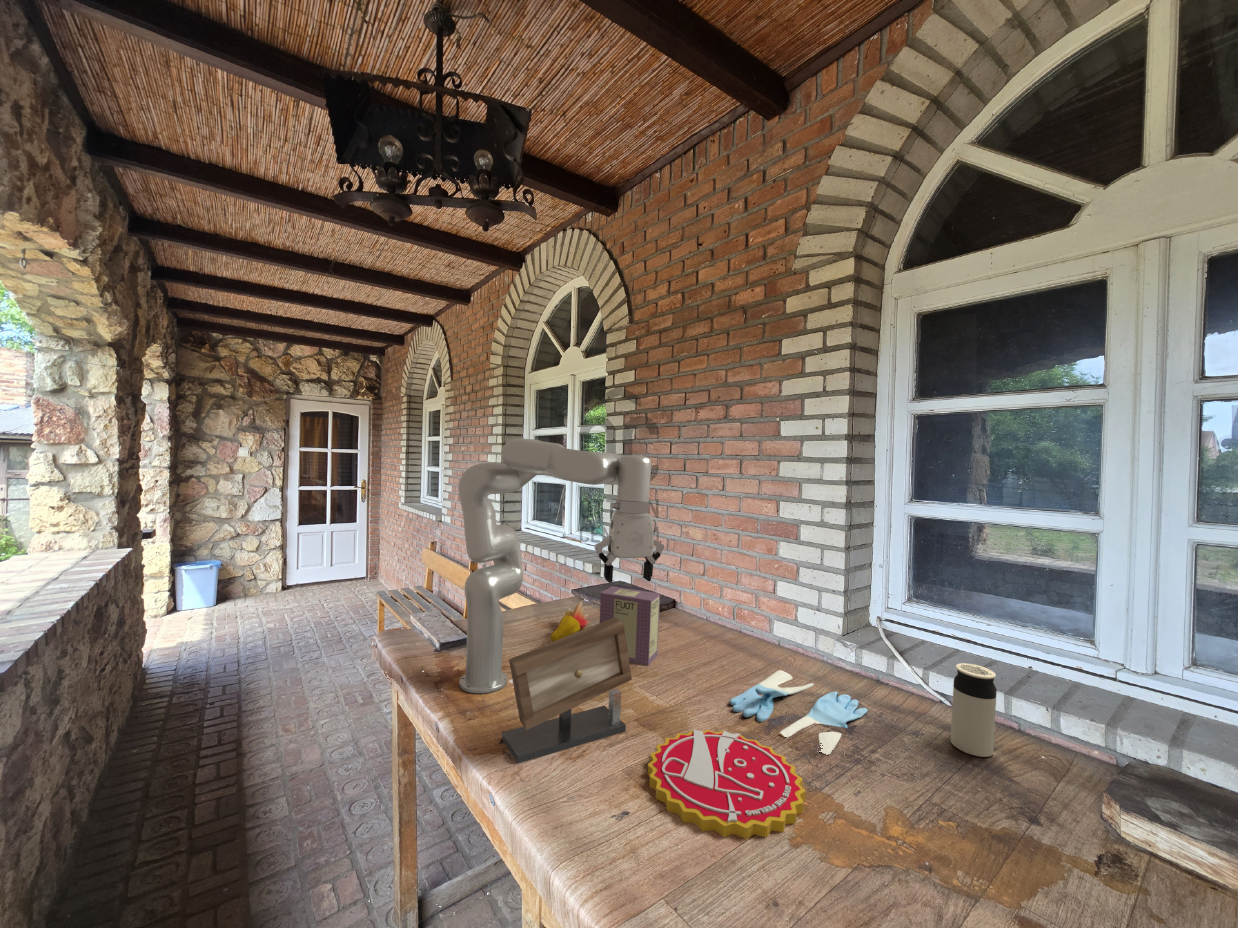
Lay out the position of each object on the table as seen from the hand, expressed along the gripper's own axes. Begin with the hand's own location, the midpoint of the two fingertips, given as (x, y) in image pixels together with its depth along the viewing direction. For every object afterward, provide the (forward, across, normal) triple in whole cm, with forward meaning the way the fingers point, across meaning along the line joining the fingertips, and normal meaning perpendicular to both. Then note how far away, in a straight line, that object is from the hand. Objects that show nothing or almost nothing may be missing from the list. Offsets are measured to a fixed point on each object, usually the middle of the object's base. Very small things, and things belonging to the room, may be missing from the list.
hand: (628, 580), depth 118 cm
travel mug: (+33, +74, -32) cm, 87 cm away
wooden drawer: (+25, -12, -4) cm, 28 cm away
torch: (+36, +2, +59) cm, 69 cm away
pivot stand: (+34, -13, -1) cm, 37 cm away
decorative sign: (+34, +13, -26) cm, 45 cm away
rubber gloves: (+34, +48, -6) cm, 59 cm away
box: (+35, +17, +37) cm, 54 cm away
